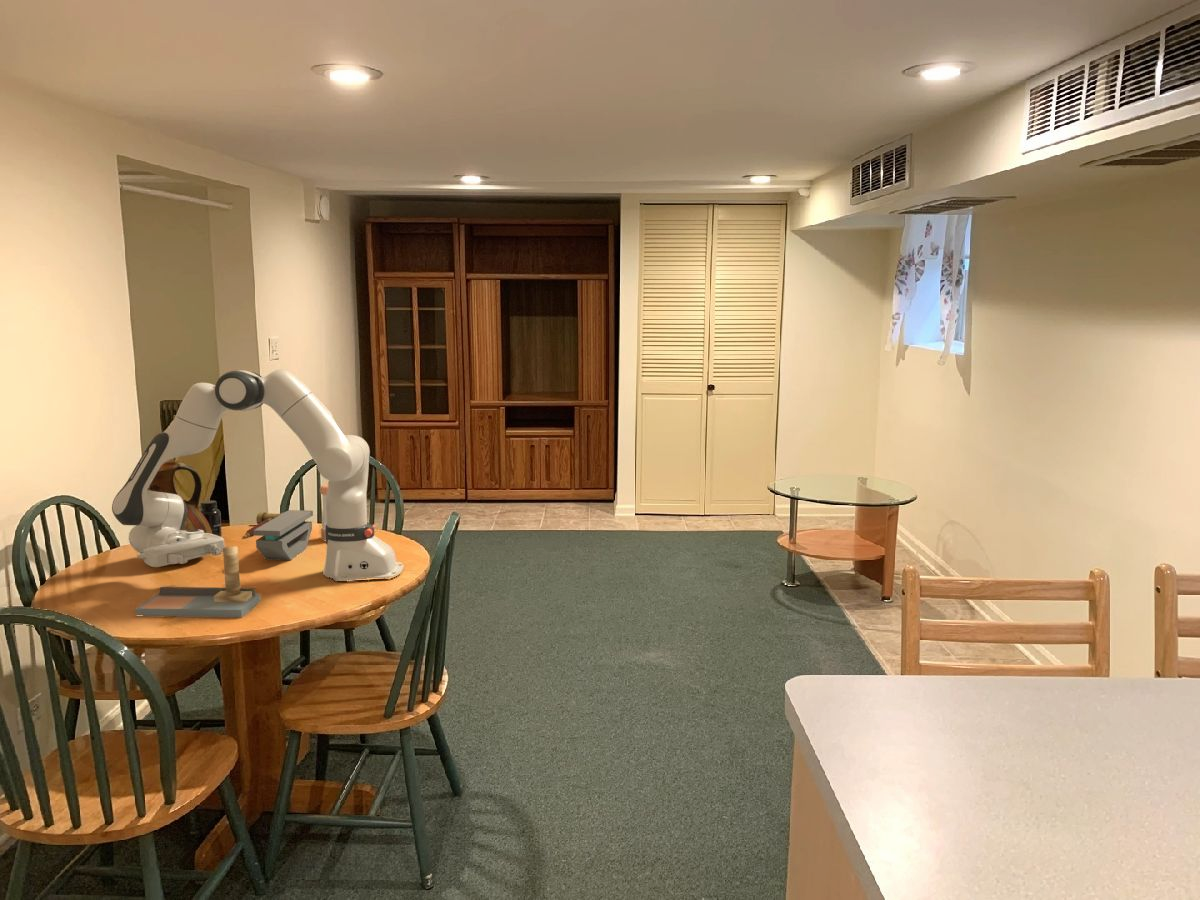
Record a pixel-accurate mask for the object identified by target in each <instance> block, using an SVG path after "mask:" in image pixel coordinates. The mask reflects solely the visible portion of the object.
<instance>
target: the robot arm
mask: <svg viewBox="0 0 1200 900" xmlns="http://www.w3.org/2000/svg"><path fill="white" fill-rule="evenodd" d="M264 404H265V405H266V406H269V407H270V409H272V410H273V411H274V412H275V413H276V414H277V416H278V417H280V419H281V420H282V421H283V422H284V423H285V424H286V425H287V426H288V427H289V428H290V430H291V431H292V432H293V433H294V434H295V435H296V437H298V439H299V440H300V441H301V443H302V444H303V446H304V447H305V449H306V450H307V452H308V454H309V455H310V457H311V458H312V460H313V461H314V463H315V464H316V467H317V471H318V473H319V474H320V475H321V476H322V477H323V478H324V479H326V480H327V481H328V482H329V484H328V483H327V484H328V491H327V495H326V514H327V525H326V529H325V539H326V541H325V543H326V553H325V554H326V555H325V562H324V568H323V571H322V575H323V576H324V575H325V577H326V578H329V577H330V578H329V579H332V578H333V579H332V580H334V581H335V582H337V581H347V580H348V581H347V582H350V581H349V580H356V579H367V578H386V577H387V578H389V577H393V576H395V575H397V574H399V573H400V572H401V571H402V569H403V567H404V568H405V566H404V564H403V563H402V562H400V561H397V559H396V554H395V551H394V549H393V547H392V546H390V545H389V544H387V543H385V542H384V541H383V540H381V539H380V538H379V537H377V536H376V535H375V528H376V524H371V523H369V522H368V509H367V507H368V506H367V492H368V481H369V480H368V479H369V464H370V453H371V450H370V446H369V444H368V442H367V441H366V440H365V439H364V438H363V437H361V436H359V435H354V434H344V433H343V431H342V430H341V428H340V427H339V426H338V424H337V422H336V421H335V419H334V416H333V413H332V412H331V411H330V410H329V409H328V408H327V407H326V406H325V405H324V404H323V402H322V401H321V400H320V399H319V398H318V396H317V395H316V394H315V393H313V391H312V390H311V389H310V388H309V387H308V386H307V385H306V384H305V383H304V382H303V381H301V380H300V379H299V378H298V377H297V376H296V375H295V374H293V373H292V372H290V371H289V370H287V369H283V368H282V369H276V370H274V371H271V372H270V373H269V374H267V375H265V376H261V375H260V374H259V373H256V372H254V371H253V372H252V371H249V370H244V369H243V370H242V369H241V370H240V369H239V370H231V371H228V372H225V373H223V374H222V375H221V376H219V378H218V379H217V381H216V383H215V384H212V383H209V382H197V383H195V384H193V385H191V386H190V388H189V389H188V391H187V392H186V394H185V396H184V397H183V399H182V401H181V403H180V405H179V407H178V408H177V412H176V414H175V417H174V419H173V420H172V422H171V423H170V425H169V426H168V427H167V428H166V429H165V430H164V431H163V432H161V433H157V434H156V435H154V437H153V438H152V439H151V441H150V442H149V444H148V445H147V447H146V449H145V450H144V452H143V453H142V455H141V457H140V459H139V461H137V464H136V466H135V467H134V469H133V471H132V472H131V474H130V475H129V478H128V479H127V480H126V482H125V484H124V485H123V486H122V488H121V489H120V490H119V491H118V492H117V494H116V495H115V497H114V499H113V501H112V504H111V511H112V514H113V516H114V517H115V519H116V520H117V521H118V523H120V524H121V525H123V526H133V527H132V528H131V529H130V531H129V533H128V542H129V544H130V546H131V547H132V549H133V550H135V552H137V553H138V554H136V557H137V559H141V560H143V559H144V560H143V562H144V563H145V564H146V565H148V566H149V567H152V568H160V567H163V566H168V565H175V564H181V565H182V564H183V565H184V564H187V563H188V561H190V559H191V560H194V559H197V558H201V557H206V556H209V555H212V556H220V555H222V553H223V548H224V547H226V545H225V539H224V538H223V537H222V536H221V537H220V536H217V535H214V534H210V533H204V531H203V530H200V529H199V530H187V531H185V530H182V528H183V526H184V524H185V522H186V518H187V507H186V504H185V502H184V500H185V499H183V498H182V496H181V495H179V494H178V493H177V494H178V495H177V494H171V493H164V492H156V491H151V490H150V484H151V482H152V481H153V479H154V477H155V475H156V474H157V472H158V470H159V469H160V467H161V466H162V465H163V464H164V463H165V462H169V460H172V459H175V458H179V457H185V456H190V455H195V454H199V453H200V452H203V451H205V450H207V449H208V448H209V447H210V446H211V444H212V443H213V442H214V439H215V437H216V435H217V432H218V429H219V426H220V423H221V421H222V419H223V416H224V415H225V413H226V412H228V411H229V410H231V411H241V412H246V411H251V410H254V409H257V408H260V407H261V406H262V405H264ZM399 565H401V566H399Z"/></svg>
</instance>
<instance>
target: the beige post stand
mask: <svg viewBox="0 0 1200 900" xmlns="http://www.w3.org/2000/svg"><path fill="white" fill-rule="evenodd" d="M222 553H223V571H224V585H225V586H224V588H226V591H220V592H219V593H217V594H216V595H215V596H214V602H247V601H248V600H249V599H250V598H251V597H252V591H240V588H241V582H240V581H241V579H240V568H239V567H240V566H239V565H240V564H239V549H238V546H236V545H227V546H225V547H224V548H223V552H222Z"/></svg>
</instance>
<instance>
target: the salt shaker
mask: <svg viewBox="0 0 1200 900" xmlns="http://www.w3.org/2000/svg"><path fill="white" fill-rule="evenodd" d="M328 484H329V481H328V483H325V484H323V485H321V486H320V488H319V492H320V494H321V495H322V512H321V529H320V538H321V539H322V540H326V539H325V529H326V525H327V514H326V495H327V491H328ZM322 540H321V541H322Z"/></svg>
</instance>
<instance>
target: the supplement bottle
mask: <svg viewBox="0 0 1200 900" xmlns="http://www.w3.org/2000/svg"><path fill="white" fill-rule="evenodd" d="M217 504H218V503H217V501H216V500H203V501H201V502H200V509H199V511H200V512H201V513H202V514H203V515H204V517H205V518H206V519H207V521H208V523H209V525H210V528H211V531H212V534H214V535H217V536H220V537H222V534H223V533H222V521H221V520H222V518H221V517H222V514H221V511H220V509H218V505H217Z"/></svg>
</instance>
